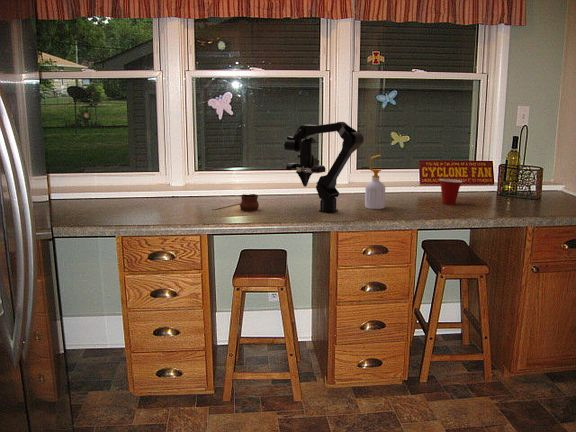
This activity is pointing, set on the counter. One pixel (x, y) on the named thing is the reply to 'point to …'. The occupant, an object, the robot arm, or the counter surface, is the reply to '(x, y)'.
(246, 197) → the ceramic pot
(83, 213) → the counter surface
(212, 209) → the strip
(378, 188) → the soap bottle
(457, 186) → the plastic cup
